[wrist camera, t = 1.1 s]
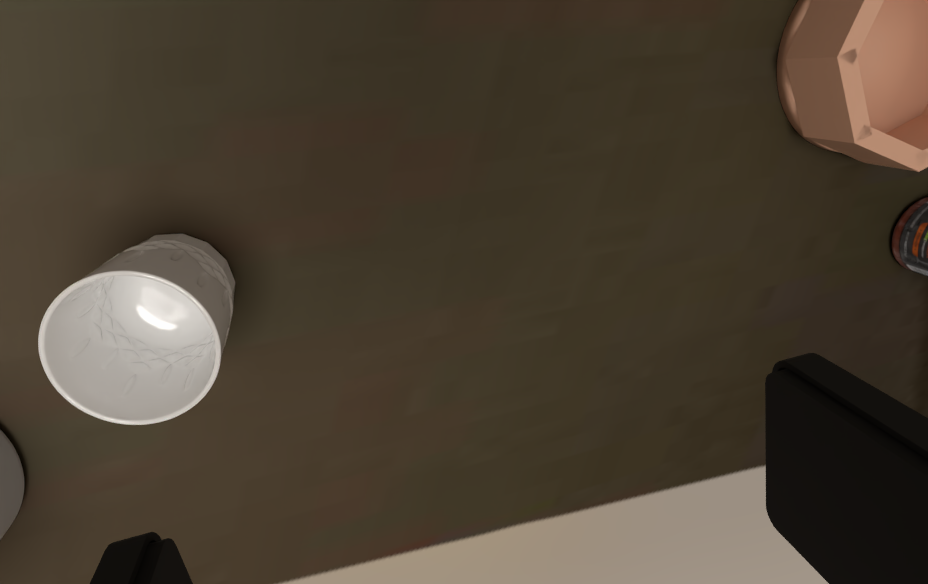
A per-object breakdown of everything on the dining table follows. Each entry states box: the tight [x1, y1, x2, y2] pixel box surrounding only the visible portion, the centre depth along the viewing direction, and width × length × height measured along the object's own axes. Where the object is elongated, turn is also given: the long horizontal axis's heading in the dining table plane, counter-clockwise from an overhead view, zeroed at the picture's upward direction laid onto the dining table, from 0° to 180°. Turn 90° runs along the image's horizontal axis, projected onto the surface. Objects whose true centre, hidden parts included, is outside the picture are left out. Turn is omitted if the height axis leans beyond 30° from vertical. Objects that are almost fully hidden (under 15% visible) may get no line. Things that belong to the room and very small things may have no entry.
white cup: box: [38, 233, 235, 425], centre depth 35 cm, size 8×8×10 cm
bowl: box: [777, 0, 928, 172], centre depth 41 cm, size 13×13×6 cm
